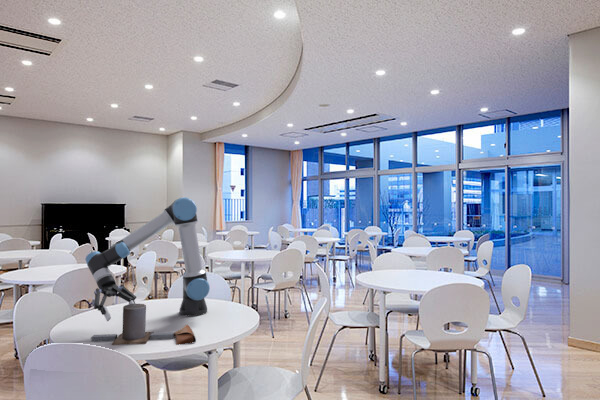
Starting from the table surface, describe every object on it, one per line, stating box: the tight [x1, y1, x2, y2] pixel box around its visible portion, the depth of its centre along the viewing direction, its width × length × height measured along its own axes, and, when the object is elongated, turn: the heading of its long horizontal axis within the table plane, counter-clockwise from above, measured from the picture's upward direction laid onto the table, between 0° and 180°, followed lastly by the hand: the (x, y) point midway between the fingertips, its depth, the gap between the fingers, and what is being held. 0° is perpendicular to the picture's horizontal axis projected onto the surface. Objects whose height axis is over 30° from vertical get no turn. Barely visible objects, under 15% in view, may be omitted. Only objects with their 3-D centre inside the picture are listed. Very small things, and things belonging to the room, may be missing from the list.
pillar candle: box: [121, 302, 147, 340], centre depth 181 cm, size 10×10×15 cm
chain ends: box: [90, 331, 176, 342], centre depth 181 cm, size 35×3×2 cm, turn 97°
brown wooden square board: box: [111, 331, 155, 346], centre depth 181 cm, size 14×14×1 cm
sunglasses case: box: [174, 324, 197, 346], centre depth 183 cm, size 18×7×7 cm
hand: (123, 316), depth 185 cm, fingers open, 13 cm apart
